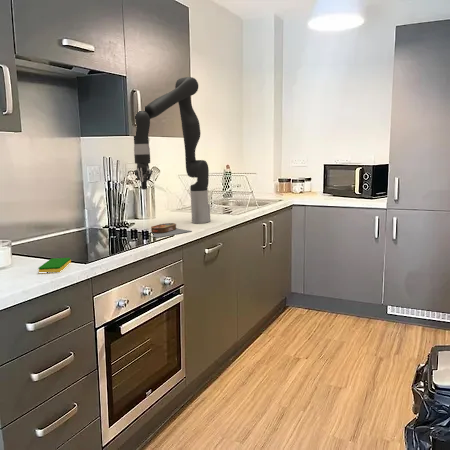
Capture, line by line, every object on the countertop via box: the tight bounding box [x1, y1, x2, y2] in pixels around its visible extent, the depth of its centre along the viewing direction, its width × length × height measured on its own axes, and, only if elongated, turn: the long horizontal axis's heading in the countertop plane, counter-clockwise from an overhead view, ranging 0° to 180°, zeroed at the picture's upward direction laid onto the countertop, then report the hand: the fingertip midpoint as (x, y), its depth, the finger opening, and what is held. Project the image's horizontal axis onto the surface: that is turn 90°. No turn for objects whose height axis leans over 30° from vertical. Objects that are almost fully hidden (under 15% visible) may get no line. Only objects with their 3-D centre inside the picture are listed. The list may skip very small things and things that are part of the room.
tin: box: [150, 222, 177, 233], centre depth 228 cm, size 15×3×8 cm
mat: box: [150, 227, 192, 239], centre depth 224 cm, size 20×14×1 cm
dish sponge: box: [37, 257, 72, 273], centre depth 163 cm, size 7×14×2 cm, turn 3°
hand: (144, 189), depth 229 cm, fingers closed
